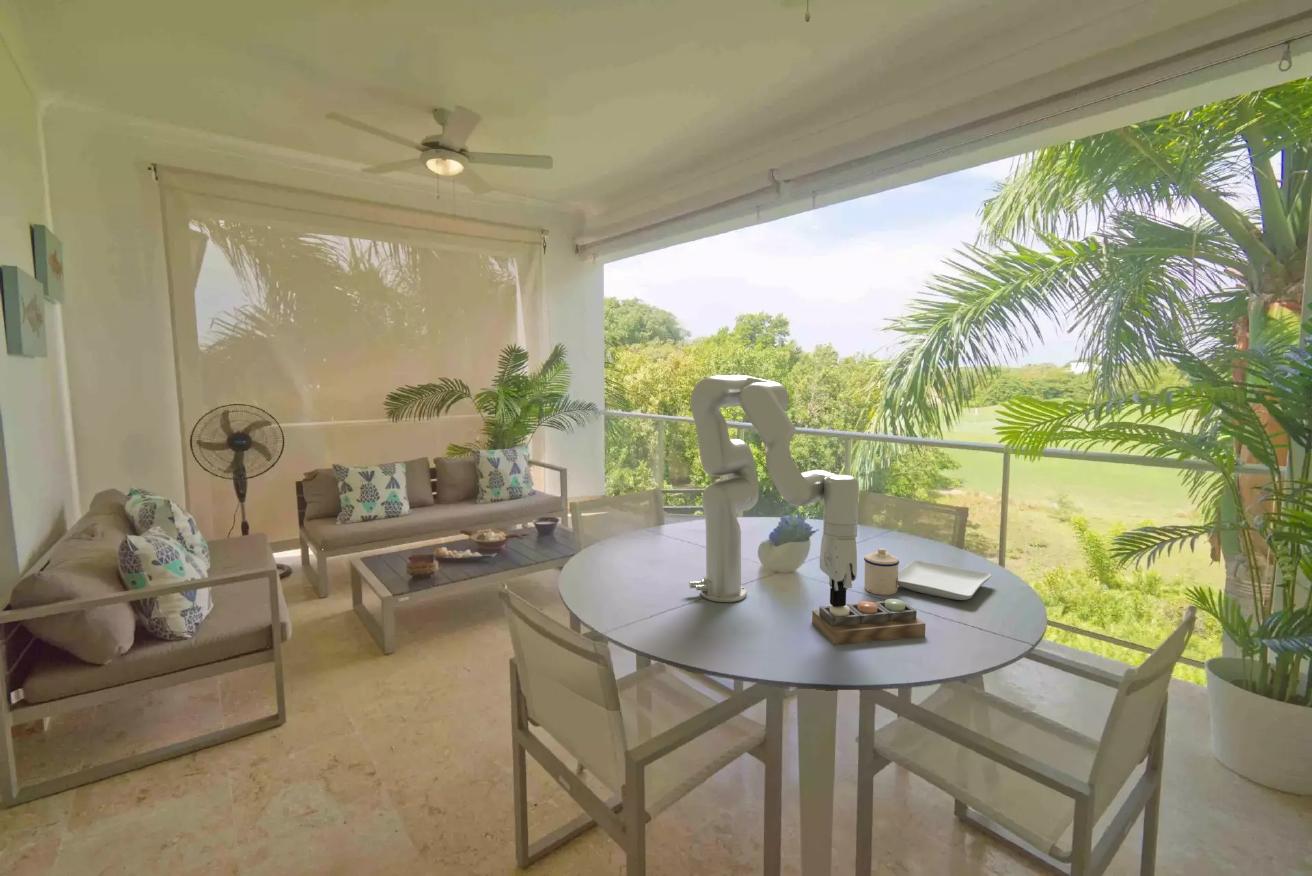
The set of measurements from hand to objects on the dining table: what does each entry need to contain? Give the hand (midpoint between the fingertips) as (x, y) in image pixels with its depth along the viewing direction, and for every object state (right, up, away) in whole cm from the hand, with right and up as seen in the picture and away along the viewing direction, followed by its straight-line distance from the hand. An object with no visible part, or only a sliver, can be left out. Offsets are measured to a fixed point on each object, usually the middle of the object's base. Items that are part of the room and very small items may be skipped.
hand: (837, 604), depth 137 cm
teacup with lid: (+20, -3, +27) cm, 34 cm away
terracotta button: (+7, -3, +1) cm, 8 cm away
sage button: (+14, -2, +2) cm, 14 cm away
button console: (+7, -6, +1) cm, 10 cm away
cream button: (0, -3, 0) cm, 3 cm away
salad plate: (+37, -3, +27) cm, 46 cm away
